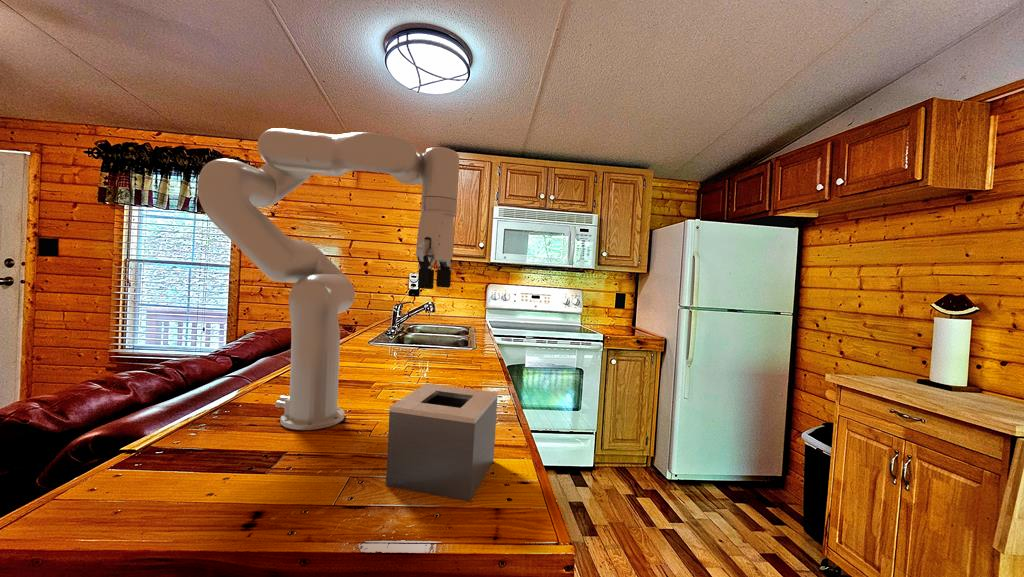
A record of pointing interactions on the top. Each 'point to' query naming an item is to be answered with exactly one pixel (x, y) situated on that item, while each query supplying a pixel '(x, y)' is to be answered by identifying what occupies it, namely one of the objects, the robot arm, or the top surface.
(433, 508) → the top surface
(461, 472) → the box
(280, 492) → the top surface
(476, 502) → the top surface
